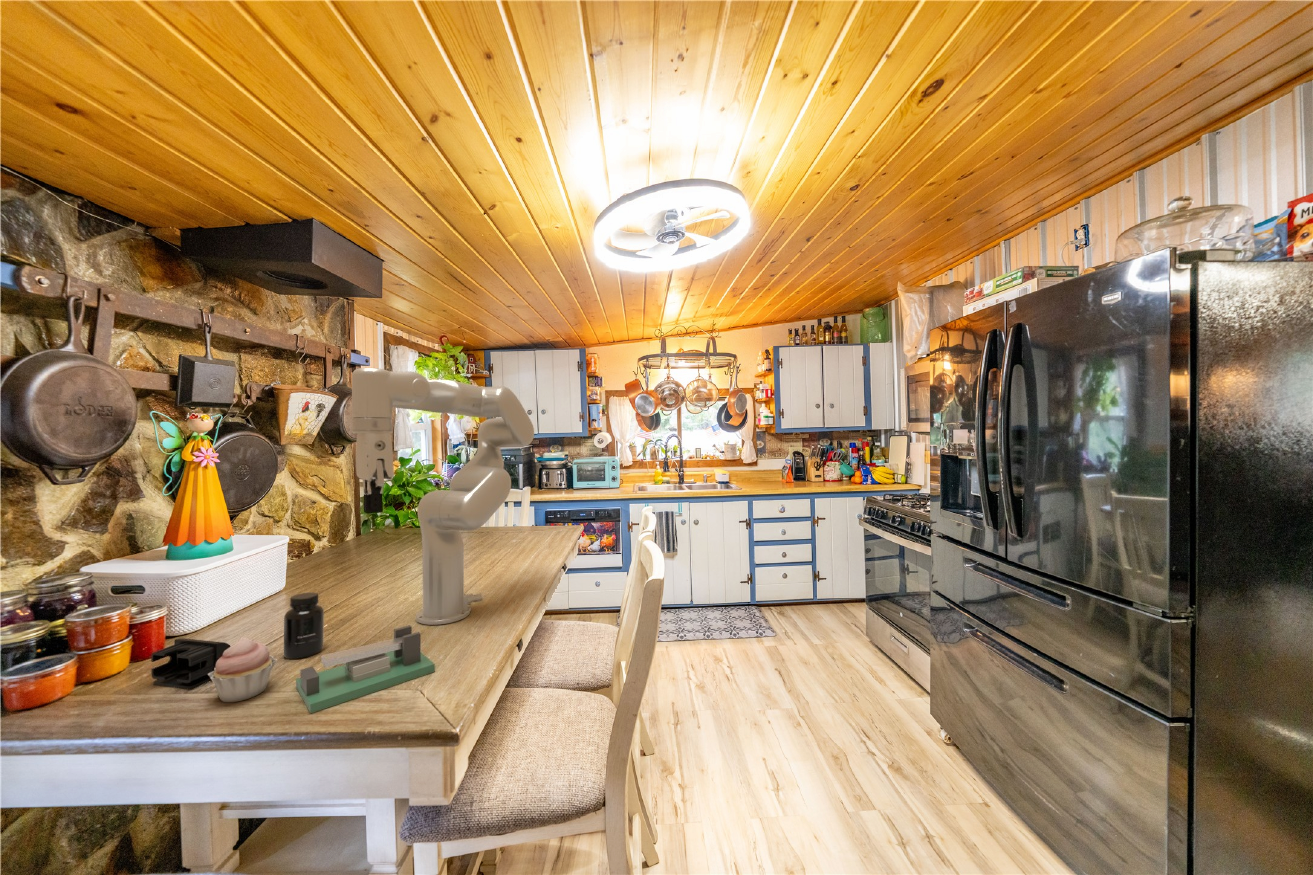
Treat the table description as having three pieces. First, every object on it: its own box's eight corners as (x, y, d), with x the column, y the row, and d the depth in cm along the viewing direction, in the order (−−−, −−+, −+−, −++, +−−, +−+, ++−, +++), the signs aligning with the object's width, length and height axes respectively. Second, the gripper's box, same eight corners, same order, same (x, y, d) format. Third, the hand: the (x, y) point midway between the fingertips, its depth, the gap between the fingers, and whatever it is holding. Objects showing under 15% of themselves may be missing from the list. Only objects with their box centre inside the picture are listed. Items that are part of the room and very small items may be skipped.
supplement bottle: (303, 661, 100) (302, 602, 100) (275, 658, 101) (274, 599, 101) (331, 647, 107) (331, 591, 106) (305, 644, 108) (304, 589, 108)
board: (412, 652, 104) (412, 619, 104) (434, 671, 96) (434, 635, 95) (296, 686, 90) (295, 648, 90) (310, 713, 81) (310, 671, 81)
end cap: (233, 671, 96) (233, 636, 96) (193, 690, 89) (192, 653, 89) (192, 667, 98) (192, 632, 98) (149, 685, 91) (149, 648, 91)
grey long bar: (408, 642, 99) (408, 633, 99) (414, 646, 97) (414, 638, 97) (321, 663, 89) (321, 654, 89) (325, 668, 87) (325, 659, 87)
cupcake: (259, 676, 94) (258, 623, 94) (287, 687, 90) (287, 632, 90) (196, 700, 85) (196, 642, 85) (225, 713, 81) (224, 652, 81)
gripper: (403, 426, 103) (404, 514, 103) (380, 427, 114) (381, 507, 114) (363, 426, 98) (363, 519, 98) (343, 426, 108) (343, 510, 108)
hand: (373, 512), depth 106 cm, fingers closed
